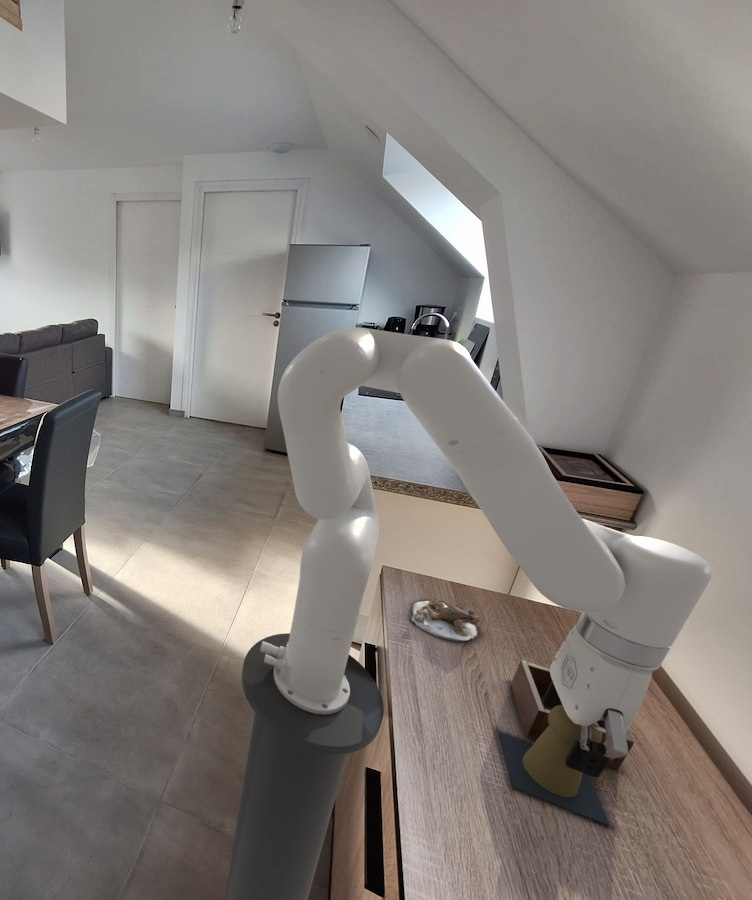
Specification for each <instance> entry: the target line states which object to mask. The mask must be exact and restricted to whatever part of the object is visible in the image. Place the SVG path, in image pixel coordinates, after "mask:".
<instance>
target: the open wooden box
mask: <svg viewBox="0 0 752 900" xmlns="http://www.w3.org/2000/svg"><path fill="white" fill-rule="evenodd" d="M551 682H553V681H552V678H551V675H550V668H549V667H545V666H542V665H539V664H535V663H532V662H530V661H525V660H522V659H521V660H520V661H519V663H518V666H517V668H516V671H515V673H514V675H513V678H512V680H511V683H510V688H511V690H512V694H513V698H514V700H515V704H516V708H517V710H518V714H519V716H520V720H521V723H522V726H523V729H524V733H525V736H526V737H527V738H529V739H532V740H535V741H536V740H537V739H538V738H539V737H540V736H541V734H542V733H543V732H544V731H545V730H546V728H547V727H548V726H549V722H548V716H549V713H550V710H551V709H552V708H550V707H547V706H545V705H544V704H543V702H542V700H543V698H544V696H545V693H546V691H547V689H548V687H549V685H550V683H551ZM597 723H598V725H599V726H601V727H604V728H605V725H604V721H601V720H599V721H597ZM625 736H626V741H627V746H628V753H630V751H631V749H632V747H633V746H634V744H635V741H634V739H633V738H632V736H631V734H630V732H629V729H628V730H627V732H626V733H625ZM603 743H604V733H602V740H601V744H603ZM627 756H628V754H627V755H626V756H624V757H621V758H619V760H611V759H609V761H608V762H607V764H606V767H610V768H613V769H614V770H615V769H616V770H619V769H620V767H621V766H622V764H623V762H624V761H625V759H626V757H627Z"/></svg>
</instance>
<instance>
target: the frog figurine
mask: <svg viewBox="0 0 752 900" xmlns="http://www.w3.org/2000/svg"><path fill="white" fill-rule="evenodd" d="M410 620H411V622H412V623H414V624H415V625H416V626H417V627H418V628H420V629H422V630H423V631H425V632H427V633H429V634H431V635H432V636H435V637H437V638H441V639H445V640H447V641H450V642H451V641H452V642H465V641H470V640H472V639H474V638H476V637H477V636H478V635H477V634H478V631H477V626H476V625H477V624H478V623H480V621H481V620H480V617H478V616H477V615H476V614H475V611H473V610H466V609H463V610H462V609H461V608H460V607H457V606H448V605H446V604H445V603H444V601H443V600H437V598H436V597H434V598H432V599H430V600H422V601H416V602H414V603H413V604H412V617H411V618H410Z"/></svg>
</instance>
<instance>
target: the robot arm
mask: <svg viewBox="0 0 752 900" xmlns="http://www.w3.org/2000/svg"><path fill="white" fill-rule="evenodd" d="M361 387H367V388H371V389H376V390H382V391H385V392H386V391H387V392H392V393H396V394H399V395H400V396H401V398H402V400H403V401H404V403H405V404H406V406H407V407H408V408H409V410H410V411H411V413H412V415H414V417H415V418H416V419H417V421H418V422H419V423H420V425H421V426H422V427H423V429H424V430H425V431H426V433H427V434H428V435H429V436H430V438H431V439H432V441H433V442H434V444H436V446H437V447H438V449H439V450H440V452H441V453H442V454H443V456H444V457H445V458H446V460H447V461H448V462H449V464H450V465H451V467H452V468H453V469H454V471H455V472H456V473H457V475H458V476H459V479H460V481H462V484H463V485H464V487H465V489H466V491H467V492H468V493H469V495H470V497H471V498H472V499H473V500H474V502H475V504H476V505H477V506H478V507H479V509H480V511H481V512H482V513H483V515H484V516H485V518H486V520H487V521H488V523H489V525H490V526H491V527H492V529H493V531H494V532H495V534H496V535H497V537H498V538H499V540H500V541H501V542H502V544H503V546H504V547H505V549H506V550H507V552H508V553H509V555H510V556H511V557H512V558H513V560H514V561H515V562H516V564H517V565H518V566H519V568H520V569H521V570H522V572H523V573H524V575H525V576H526V577H527V579H528V580H529V581H530V582H531V583H532V585H533V586H534V588H535V589H536V590H537V591H538V592H539V593H540V594H541V595H542V597H545V598H546V599H547V600H548V601H550V602H551V603H553V604H555V605H557V606H558V607H561V608H564V609H566V610H570V611H573V612H579V613H580V612H581V615H580V616H579V618H578V621H577V623H576V624H575V625H574V626H573V628H571V630H570V632H569V633H568V634H567V636H566V637H565V639H564V640H563V642H562V644H561V645H560V647H559V649H558V651H557V653H556V655H555V656H554V658H553V660H552V662H551V664H550V667H549V669H550V675H551V678H552V681H553V682H551V683H550V685H549V687H548V689H547V691H546V693H545V696H544V698H543V700H542V702H543V704H544V705H545V706H547V707H550V708H554V707H555V706H558V705H563V707H564V709H565V711H566V713H567V715H568V717H569V718H570V719H571V721H572V722H573V723H575V724H577V725H581V739H580V741H575V743H574V744H573V746H572V748H571V750H570V752H569V754H568V756H567V757H566V759H565V763H566V766H567V767H569V768H571V769H574V770H577V771H580V772H582V773H585V774H588V775H589V777H590V776H591V777H594V778H599V777H600V776H601V774H602V773H603V771H604V769H605V767H607V765H606V764H607V762H608V761H609V759H611V760H619V758H621V757H624V756H626V755H627V756H628V755H629V752H628V746H627V741H626V736H625V733H626V732H627V730H628V731H629V729H630V728H631V726H632V724H633V722H634V721H635V718H636V717H637V715H638V712H639V710H640V708H641V707H642V704H643V702H644V699H645V697H646V694H647V692H648V689H649V686H650V683H651V680H652V677H653V672H654V671H657V670H659V668H661V665H662V664H663V662H664V660H665V658H666V656H667V655H668V653H669V652H670V650H671V648H672V647H673V645H674V643H675V641H676V639H677V637H678V636H679V634H680V633H681V631H682V629H683V628H684V625H686V622H687V621H688V620H689V617H690V616H691V614H692V612H693V611H694V609H695V607H696V605H697V604H698V602H699V601H700V599H701V597H702V596H703V593H704V592H705V590H706V589H707V587H708V585H709V583H710V581H711V579H712V575H713V573H712V571H713V570H712V568H711V566H710V564H709V563H708V562H707V560H705V559H704V558H703V557H701V556H700V555H698V554H697V553H695V552H693V551H691V550H689V549H687V548H686V547H683V546H680V545H678V544H675V543H672V542H670V541H666V540H662V539H658V538H653V537H649V536H641V535H631V534H628V533H626V532H622V531H619V530H616V529H613V528H611V527H607V526H605V525H602V524H599V523H597V522H593V521H591V520H588V519H585V518H582V517H581V515H580V514H579V513H578V512H577V510H576V509H575V507H574V506H573V504H572V503H571V502H570V500H569V499H568V497H567V496H566V494H565V493H564V491H563V489H562V488H561V486H560V485H559V483H558V481H557V480H556V478H555V476H554V474H553V473H552V471H551V469H550V467H549V464H548V463H547V461H546V459H545V457H544V454H543V453H542V451H541V450H540V449H539V447H538V445H537V444H536V442H535V440H534V439H533V437H532V436H531V434H529V433H528V431H527V430H526V429H525V428H524V425H522V423H521V421H519V419H518V418H517V417H516V416H515V414H514V413H513V412H512V411H511V409H510V408H509V407H508V405H507V404H506V403H505V401H504V400H503V399H502V398H501V396H500V395H499V393H498V392H497V391H496V390H495V388H494V387H493V386H492V384H491V383H490V382H489V380H488V379H487V378H486V376H485V375H484V373H482V371H481V370H480V368H479V367H478V365H477V364H476V363H475V362H474V360H473V359H472V356H471V354H470V353H469V351H468V350H467V349H466V348H465V347H464V346H463V345H461V343H458V342H456V341H454V340H450V339H445V338H438V337H431V336H430V337H429V336H423V335H414V334H407V333H401V332H395V331H394V332H393V331H387V330H381V329H374V328H368V327H367V328H366V327H359V326H356V327H355V326H351V327H344V328H341V329H338V330H333V331H331V332H329V333H326V334H325V335H322V336H321V337H318V338H317V339H315V340H314V341H312V342H311V343H310V344H308V345H307V346H306V347H305V348H303V349H302V350H301V351H299V353H298V354H297V355H296V356H294V357H293V359H292V360H291V361H290V363H288V365H287V367H286V368H285V370H284V371H283V374H282V376H281V379H280V381H279V385H278V390H277V407H278V413H279V418H280V422H281V423H280V424H281V428H282V431H283V432H282V433H283V436H284V441H285V447H286V453H287V458H288V463H289V467H290V472H291V477H292V482H293V483H292V484H293V488H294V492H295V496H296V499H297V501H298V504H299V505H300V507H301V508H302V509H303V510H304V512H306V513H307V514H308V515H310V516H311V517H312V518H315V519H318V520H317V522H316V523H315V525H314V527H313V528H312V530H311V532H310V533H309V535H308V537H307V540H306V542H305V544H304V546H303V549H302V553H301V557H300V564H299V565H300V567H299V578H298V579H299V580H298V586H297V592H296V598H295V605H294V608H293V614H292V621H291V627H290V632H289V633H290V636H289V642H287V645H286V647H283V646H280V648H279V647H276V646H273V645H272V644H270V643H267V642H264V641H263V642H262V645H261V649H260V652H262V653H265V654H268V655H265V659H264V662H265V663H267V664H270V665H274V666H275V667H274V680H275V683H276V685H277V687H278V689H279V690H280V692H281V693H282V695H283V696H284V697H285V698H286V699H287V700H289V701H290V702H291V703H292V704H294V705H295V706H297V707H299V708H301V709H303V710H305V711H308V712H311V713H315V714H332V713H336V712H338V711H340V710H342V709H343V708H344V707H345V706H346V704H347V702H348V699H349V695H350V687H349V683H348V681H347V679H346V677H345V675H344V672H345V668H346V664H347V660H348V656H349V655H350V651H351V647H352V644H353V639H354V636H355V632H356V628H357V623H358V618H359V615H360V611H361V607H362V603H363V599H364V595H365V592H366V588H367V584H368V581H369V578H370V574H371V571H372V566H373V562H374V557H375V556H376V555H375V554H376V548H377V544H378V542H379V537H380V522H379V521H380V520H379V516H378V515H379V514H378V511H377V505H376V500H375V495H374V489H373V483H372V479H371V471H370V467H369V465H368V462H367V460H366V458H365V456H364V454H363V453H362V452H361V451H360V450H359V449H358V447H356V446H354V444H351V443H350V442H348V437H347V430H346V425H345V421H344V418H343V415H342V411H341V404H342V401H343V399H344V398H345V397H346V396H347V395H349V394H350V393H352V392H354V391H355V390H357V389H359V388H361ZM269 655H272V656H275V657H278V658H277V659H276V658H273V657H271V656H269ZM599 720H601V721H604V725H605V728H604V727H601V726H598V725H595V724H593V723H595V722H597V721H599ZM592 729H593V730H596V731H599V732H602V733H604V743H603V744H601V743H598V742H593V741H591V735H592ZM627 756H626V757H627Z"/></svg>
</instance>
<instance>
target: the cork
mask: <svg viewBox="0 0 752 900" xmlns="http://www.w3.org/2000/svg"><path fill="white" fill-rule="evenodd" d="M548 722H549V726H548V727H547V728H546V730H545V731H544V732H543V733H542V734H541V736H540V737H539V738H538V739H537V740H535V742H534V743H532V744H533V745H532V746H531V748H530V749H529V750H528V751H527V752H526V754H525V755H524V757H523V765H524V767H525V769H526V771H527V773H528V774H529V775H530V776H531V777H532V778H533V779H534V780H535V781H536V782H537V783H538V784H539V785H541V786H542V787H543V788H545V789H547V790H548V791H550V792H552V793H554V794H557V795H559V796H563V797H574V796H575V795H576V794H578V790H579V786H580V782H581V779H582V775H583V773H582V772H580V771H577V770H574V769H571V768H569V767H567V766H566V763H565V759H566V757H567V756H568V754H569V752H570V750H571V748H572V746H573V744H574V743H575V741H580V739H581V725H577V724H575V723H573V722H572V721H571V719H570V718H569V717H568V715H567V713H566V711H565V709H564V707H563V705H558V706H555V707H554V708H552V709H551V710H550V713H549V716H548ZM593 724H595V725H598V723H597V722H595V723H593ZM598 726H599V725H598ZM601 740H602V732H599V731H596V730H593V729H592V735H591V741H593V742H598V743H601Z"/></svg>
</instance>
